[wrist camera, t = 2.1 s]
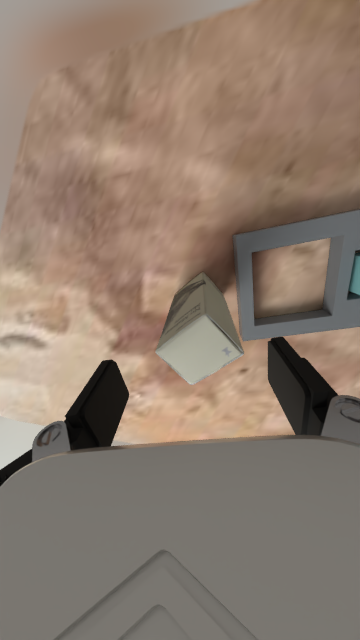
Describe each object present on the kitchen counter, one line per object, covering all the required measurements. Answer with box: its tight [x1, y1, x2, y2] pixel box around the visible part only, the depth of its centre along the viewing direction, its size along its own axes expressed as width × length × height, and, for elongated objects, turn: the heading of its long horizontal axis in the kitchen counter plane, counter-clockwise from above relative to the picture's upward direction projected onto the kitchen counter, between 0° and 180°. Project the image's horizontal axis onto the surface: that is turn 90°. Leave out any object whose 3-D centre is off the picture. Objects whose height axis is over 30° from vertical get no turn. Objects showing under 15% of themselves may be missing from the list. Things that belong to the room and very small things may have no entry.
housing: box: [233, 209, 360, 341], centre depth 22 cm, size 18×13×2 cm
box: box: [156, 272, 244, 385], centre depth 19 cm, size 5×4×13 cm
